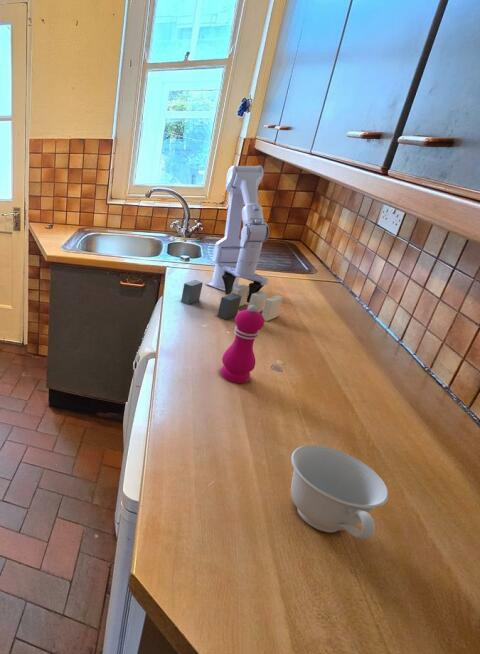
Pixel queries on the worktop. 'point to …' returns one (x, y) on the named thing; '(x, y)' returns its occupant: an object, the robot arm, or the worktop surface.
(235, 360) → the pepper mill
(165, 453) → the worktop surface
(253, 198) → the robot arm
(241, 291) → the white thin book
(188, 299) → the grey book
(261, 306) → the white book
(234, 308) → the grey book
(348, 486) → the teacup
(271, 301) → the white book
